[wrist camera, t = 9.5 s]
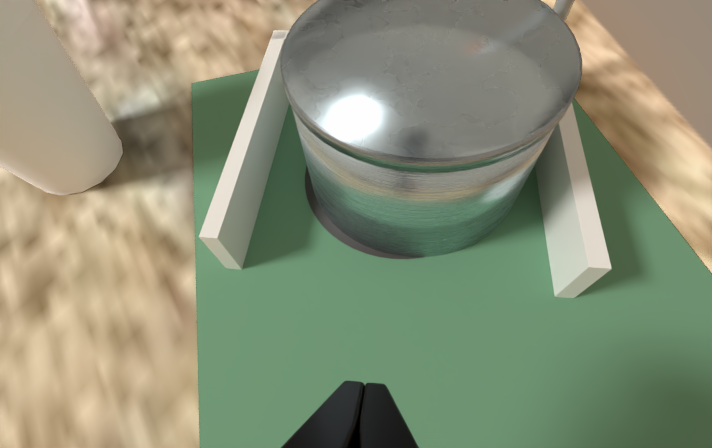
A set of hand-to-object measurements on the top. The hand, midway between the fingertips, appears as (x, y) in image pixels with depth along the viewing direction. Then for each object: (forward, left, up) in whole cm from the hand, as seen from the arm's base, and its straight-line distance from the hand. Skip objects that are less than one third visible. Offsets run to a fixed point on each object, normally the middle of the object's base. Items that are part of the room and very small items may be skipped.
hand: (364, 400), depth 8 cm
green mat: (+11, -6, -12) cm, 17 cm away
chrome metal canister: (+15, -7, -12) cm, 20 cm away
